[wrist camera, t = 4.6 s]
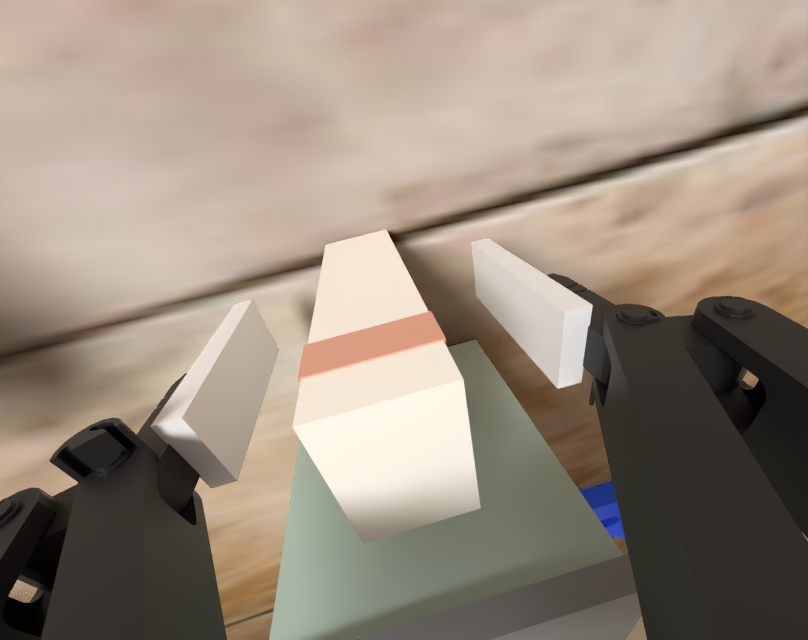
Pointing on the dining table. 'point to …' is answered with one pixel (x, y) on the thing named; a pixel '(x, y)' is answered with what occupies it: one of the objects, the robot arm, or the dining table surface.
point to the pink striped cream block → (383, 396)
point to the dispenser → (461, 549)
